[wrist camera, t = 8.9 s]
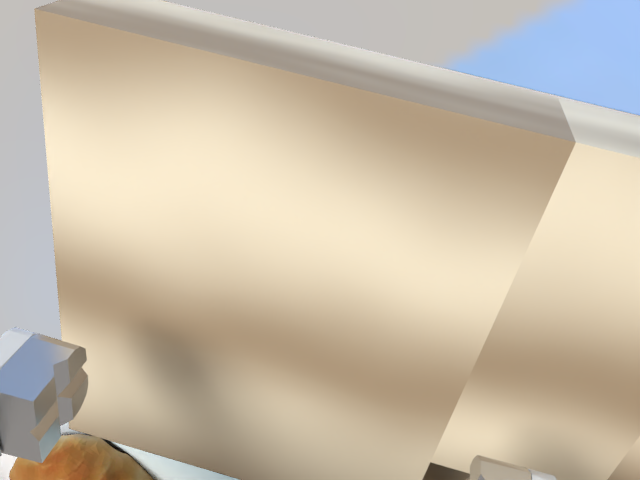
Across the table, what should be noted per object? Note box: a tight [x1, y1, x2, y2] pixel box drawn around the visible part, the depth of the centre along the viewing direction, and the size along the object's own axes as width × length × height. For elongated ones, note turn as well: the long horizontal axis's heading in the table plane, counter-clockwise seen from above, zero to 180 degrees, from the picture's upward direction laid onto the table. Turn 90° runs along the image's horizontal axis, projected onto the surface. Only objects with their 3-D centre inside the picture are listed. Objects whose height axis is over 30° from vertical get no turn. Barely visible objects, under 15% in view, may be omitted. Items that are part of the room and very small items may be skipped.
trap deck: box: [35, 0, 640, 480], centre depth 13 cm, size 12×22×6 cm, turn 80°
